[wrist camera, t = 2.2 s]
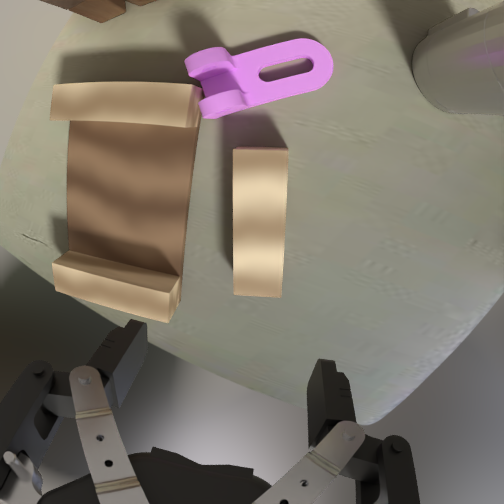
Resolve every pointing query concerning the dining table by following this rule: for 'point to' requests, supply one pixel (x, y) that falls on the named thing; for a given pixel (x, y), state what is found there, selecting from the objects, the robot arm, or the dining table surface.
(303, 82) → the bracket
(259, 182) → the oak plank
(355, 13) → the dining table surface
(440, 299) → the dining table surface
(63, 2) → the wooden block
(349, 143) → the dining table surface
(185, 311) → the dining table surface
